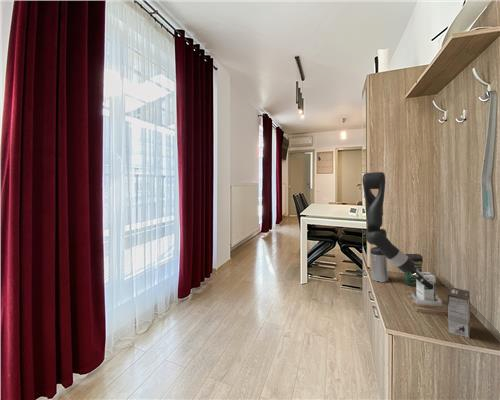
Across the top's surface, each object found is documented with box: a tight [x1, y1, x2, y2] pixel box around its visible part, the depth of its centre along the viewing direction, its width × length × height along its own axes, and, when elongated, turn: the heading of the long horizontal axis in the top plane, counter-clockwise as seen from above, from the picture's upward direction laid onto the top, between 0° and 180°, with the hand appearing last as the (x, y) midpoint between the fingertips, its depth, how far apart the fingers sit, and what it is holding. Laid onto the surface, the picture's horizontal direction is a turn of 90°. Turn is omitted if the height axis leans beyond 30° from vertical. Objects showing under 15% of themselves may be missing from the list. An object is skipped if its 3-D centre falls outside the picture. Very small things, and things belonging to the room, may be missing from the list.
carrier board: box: [405, 290, 448, 316], centre depth 119 cm, size 20×14×2 cm
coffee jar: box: [403, 253, 424, 287], centre depth 142 cm, size 10×8×19 cm
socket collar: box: [411, 290, 442, 308], centre depth 118 cm, size 10×10×3 cm
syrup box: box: [415, 271, 437, 301], centre depth 117 cm, size 6×6×14 cm
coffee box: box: [447, 286, 471, 339], centre depth 97 cm, size 9×6×16 cm
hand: (428, 284), depth 117 cm, fingers open, 8 cm apart
